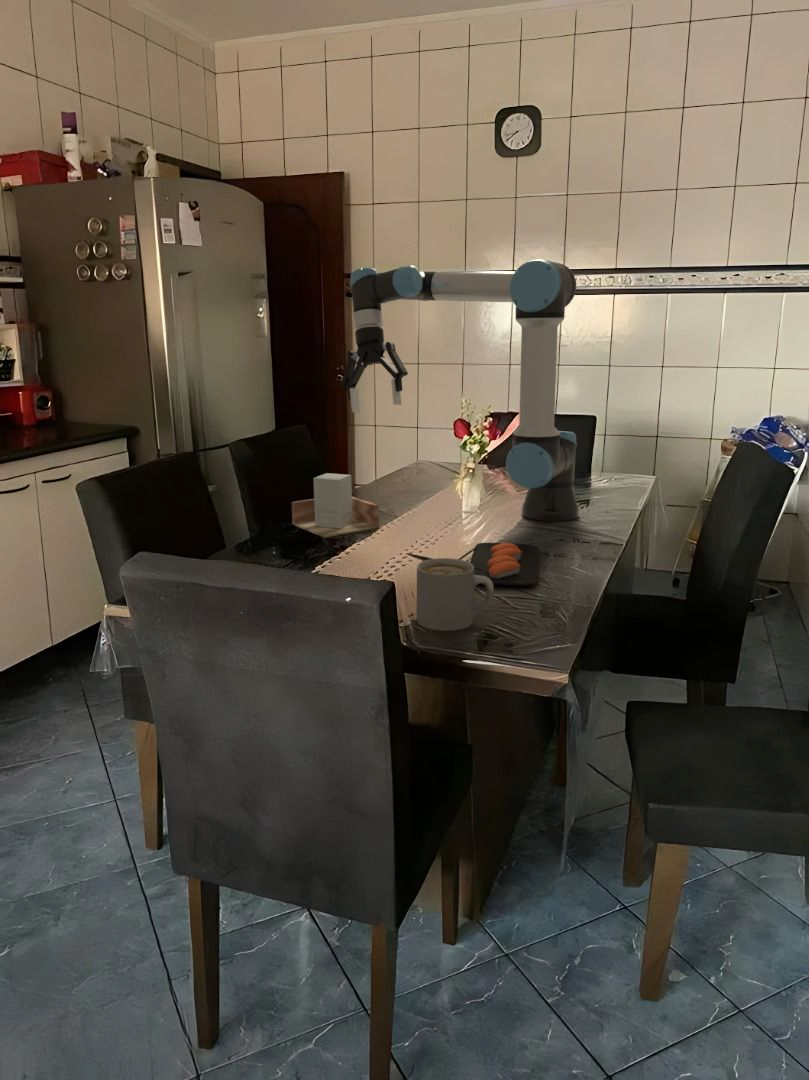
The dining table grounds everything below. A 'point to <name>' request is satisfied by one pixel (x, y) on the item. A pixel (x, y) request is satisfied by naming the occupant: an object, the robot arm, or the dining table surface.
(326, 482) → the supplement box
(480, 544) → the sushi plate
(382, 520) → the dining table surface
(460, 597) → the coffee mug
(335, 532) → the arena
